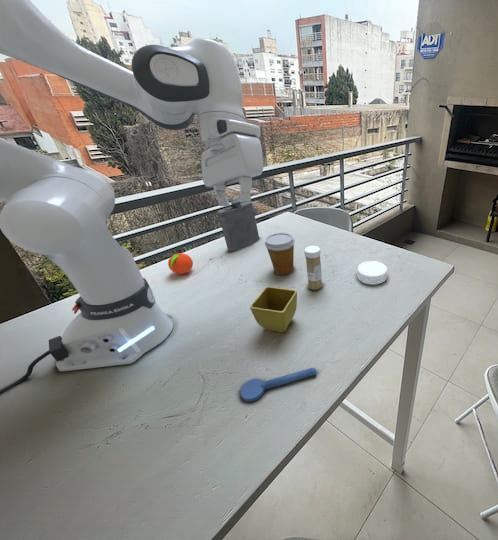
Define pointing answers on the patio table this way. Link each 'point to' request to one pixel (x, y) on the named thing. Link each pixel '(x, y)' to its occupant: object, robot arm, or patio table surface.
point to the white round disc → (372, 272)
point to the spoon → (270, 384)
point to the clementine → (180, 263)
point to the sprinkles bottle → (313, 267)
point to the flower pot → (275, 308)
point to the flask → (239, 225)
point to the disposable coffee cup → (281, 252)
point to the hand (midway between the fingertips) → (234, 204)
